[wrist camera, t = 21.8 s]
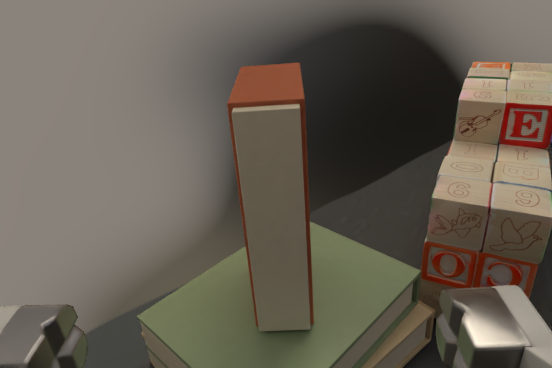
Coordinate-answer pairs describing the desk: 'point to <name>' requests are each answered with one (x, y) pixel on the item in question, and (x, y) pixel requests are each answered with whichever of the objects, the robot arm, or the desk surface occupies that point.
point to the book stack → (296, 343)
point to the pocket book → (274, 192)
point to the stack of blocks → (492, 184)
